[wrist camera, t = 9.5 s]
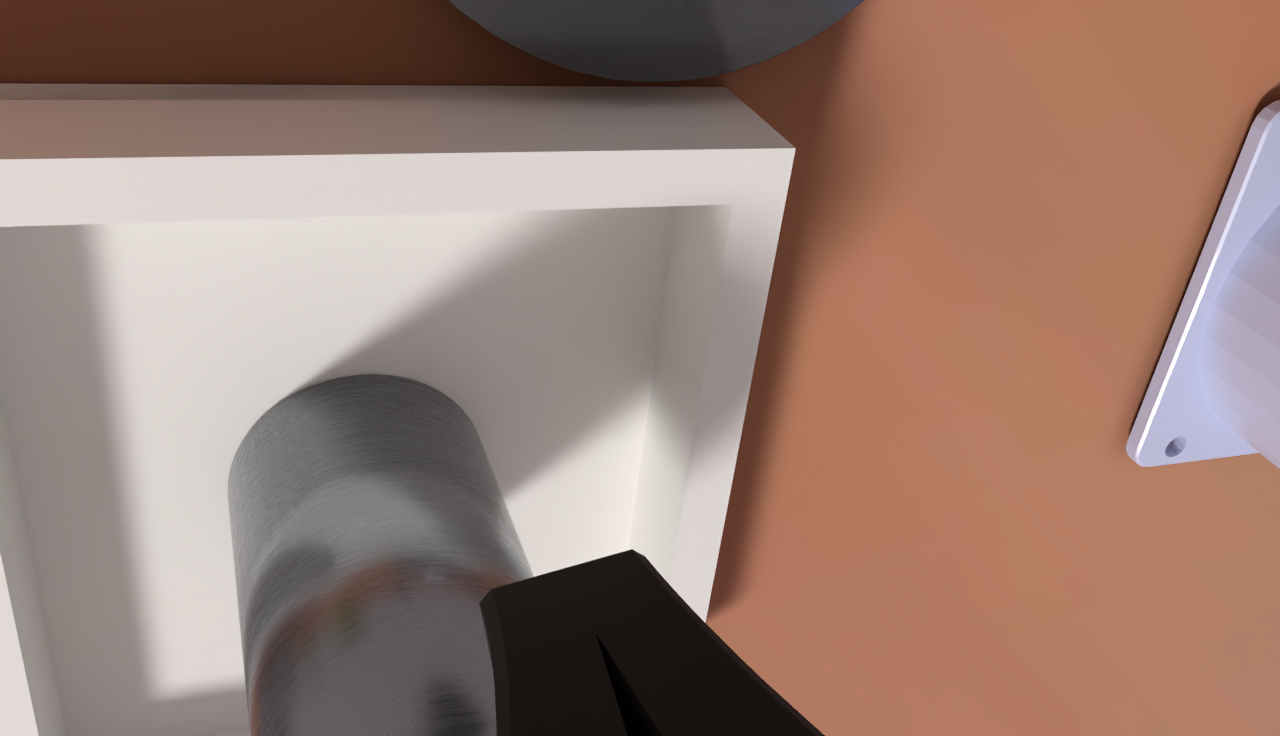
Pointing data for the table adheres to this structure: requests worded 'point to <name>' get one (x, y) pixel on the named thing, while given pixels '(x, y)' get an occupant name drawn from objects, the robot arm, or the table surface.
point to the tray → (351, 340)
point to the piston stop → (368, 563)
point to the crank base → (655, 32)
